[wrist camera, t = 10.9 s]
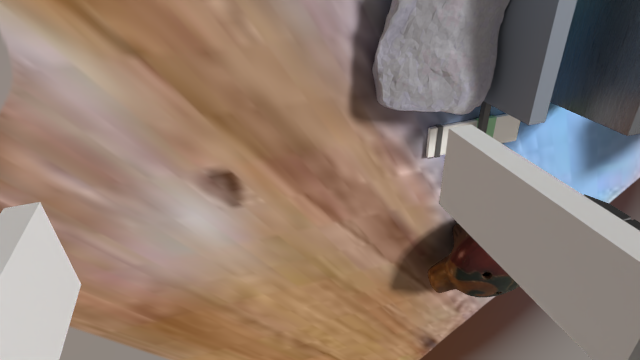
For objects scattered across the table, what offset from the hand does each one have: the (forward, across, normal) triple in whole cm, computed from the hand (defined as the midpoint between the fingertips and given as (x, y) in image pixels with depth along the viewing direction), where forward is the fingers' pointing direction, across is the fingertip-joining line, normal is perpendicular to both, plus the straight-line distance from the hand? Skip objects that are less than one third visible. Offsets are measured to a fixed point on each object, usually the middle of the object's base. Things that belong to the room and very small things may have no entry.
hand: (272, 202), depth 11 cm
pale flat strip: (+21, +23, -11) cm, 33 cm away
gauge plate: (+21, +23, -2) cm, 31 cm away
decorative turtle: (+21, +25, -24) cm, 41 cm away
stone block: (+21, +17, -1) cm, 27 cm away
